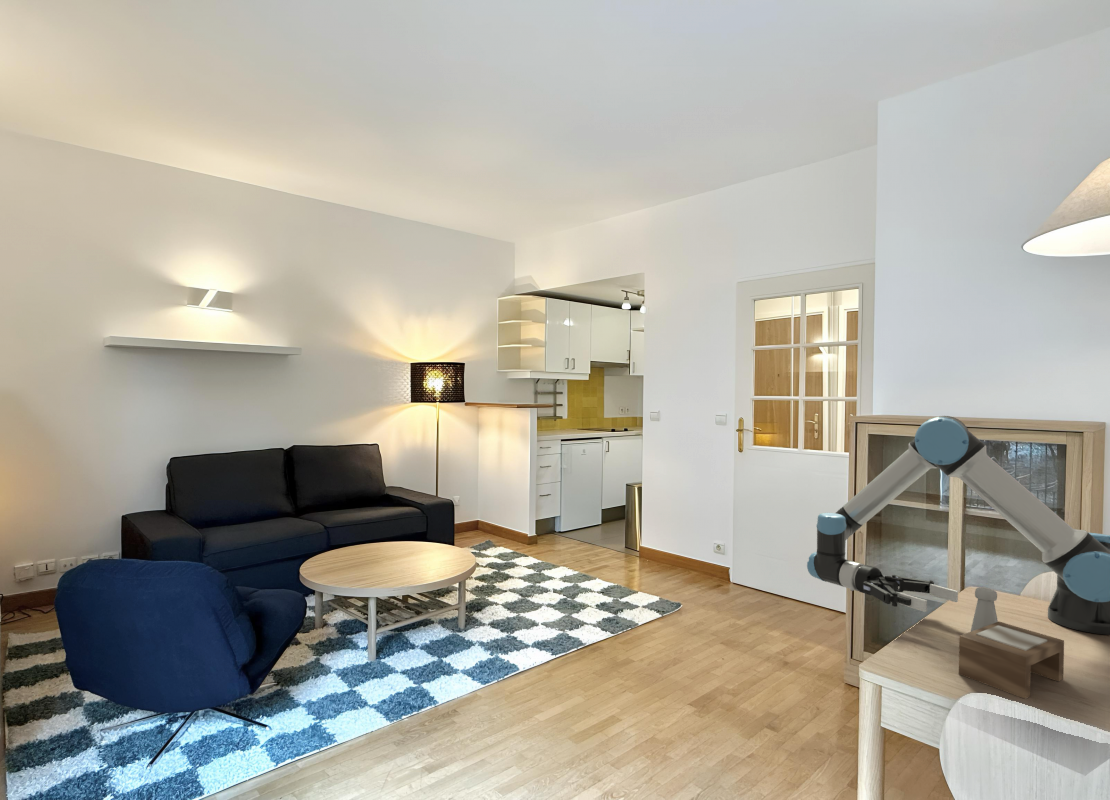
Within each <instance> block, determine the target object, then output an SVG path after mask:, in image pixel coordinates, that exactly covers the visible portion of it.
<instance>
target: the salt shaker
mask: <svg viewBox="0 0 1110 800" xmlns="http://www.w3.org/2000/svg"><path fill="white" fill-rule="evenodd" d="M974 597H975V598H976V599H977V601H976V604H975V610H974V614H973V619H972V623H971V628H970V632H971V631H974V630H977V629H979V628H982V627H985V626H988V625H990V624H993V623H996V622H998V615H997V610H996V605H995V602H996V601H997V600H998V592H997V591H996V590H995V589H992V588H989V587H985V586H984V587H983V586H982V587H981V586H980V587H976V588H975V589H974Z"/></svg>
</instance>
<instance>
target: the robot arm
mask: <svg viewBox="0 0 1110 800" xmlns="http://www.w3.org/2000/svg"><path fill="white" fill-rule="evenodd" d="M931 469H939V470H940V471H941V472H942V473H943V474H945V475H946V476H947V477H952V478H959V479H960V480H961V481H962V482H963V483H964V484H965V485H967V487H968V488H970V489H971V490H972V491H973V492H974V493H975V494H976V495H978V496H979V497H980V498H981V499H982V500H983V501H984V502H985V503H987V504H988V505H989V506H990V507H991V508H992V509H993V510H994V511H995V512H997V513H998V514H999V515H1000V516H1001V517H1002V518H1003V519H1005V520H1006V521H1007V522H1008V523H1009V524H1010V525H1011V526H1012V527H1013V528H1015V529H1016V530H1017V531H1018V533H1020V534H1022V536H1024V537H1025V538H1026V539H1027V540H1028V541H1029V542H1030V543H1031V544H1033V545H1034V546H1035V547H1036V548H1037V549H1038V550H1039V551H1040V552H1041V560H1042V562H1043V563H1044V564H1045V565H1046V566H1047V567H1048V568H1049V569H1051V570H1052V571H1053V572H1054V573H1055V574H1056V589H1055V592H1054V594H1053V596H1052V598H1051V600H1050V602H1049V605H1048V607H1047V618H1048V619H1049V620H1050V621H1051V622H1053V623H1056V624H1058V625H1061V626H1063V627H1066V628H1069V629H1073V630H1077V631H1080V632H1084V633H1090V634H1095V635H1096V634H1097V635H1106V636H1107V635H1110V534H1103V533H1096V532H1095V533H1094V532H1089V531H1087V530H1084V529H1076V528H1073V527H1072V526H1071V525H1069V524H1068V523H1067V522H1066V521H1065V520H1064V519H1062V518H1061V517H1060V516H1059V515H1058V514H1057V513H1055V511H1053V510H1052V509H1050V508H1049V507H1048V506H1047V505H1046V504H1045V503H1044V502H1043V501H1041V499H1039V498H1038V497H1037V496H1035V495H1034V494H1033V493H1032V492H1031V491H1029V489H1027V488H1026V487H1025V486H1024V485H1023V484H1021V482H1019V481H1018V480H1017V479H1016V478H1015V477H1014V476H1012V475H1011V474H1010V473H1009V472H1008V471H1006V470H1005V469H1004V468H1003V467H1002V466H1000V465H999V464H998V463H997V462H996V461H995V460H994V459H992V458H991V457H990V456H989V455H988V453H987V445H986V444H985V443H983V442H982V440H980V439H979V438H977V437H976V435H974V434H973V433H972V432H971V431H969V429H968V427H967V426H966V424H964V422H962V421H961V420H960V419H958V418H956V417H954V416H949V415H939V416H935V417H932V418H929V419H927V420H926V421H924V422H922V424H921V425H920V426H918V428H917V430H916V432H915V435H914V438H913V439H912V440H911V441H909V443H908V449H907V450H905V451H904V452H903V453H901V455H899V457H897V458H896V459H895V460H894V461H893V462H892V463H891V464H889V465H887V467H886V468H885V469H884V470H883V471H882V472H880V473H879V474H878V475H877V476H876V477H874V478H873V480H871V481H870V482H869V483H868V484H866V485H865V486H864V487H863V488H862V489H861V490H860V491H859V492H858V493H857V494H855V495H854V496H853V497H851V498H850V499H849V500H848V501H847V502H846V503H845V504H844V505H843V506H842V507H841V508H839V509H838V510H837V511H836V512H823V513H819V514H818V515H817V521H816V522H817V524H816V551H814V552H813V553H811V554H810V555H809V557H808V561H807V562H806V568H807V571H808V574H809V575H810V576H812V577H813V578H815V579H818V580H820V581H823V582H826V583H830V584H833V585H837V586H840V587H843V588H846V589H849V590H850V591H851V592H854V591H856V592H859V593H862V594H865V595H869V596H873V597H874V598H876V599H878V600H879V601H881V602H883V603H884V604H887V605H890V604H891V606H892V607H898V605H901V606H905V607H908V608H911V609H913V610H918V611H921V612H923V613H926V612H928V600H927V599H924V598H920V597H918V596H917V597H916V596H913V595H910V594H907V593H903V592H913V593H922V594H924V593H925V594H929V596H933V597H936V598H940V599H943V600H945V601H950V602H954V603H958V602H959V591H958V590H955V589H951V588H948V587H944V586H941V585H937V584H935V582H934V580H932V579H929V580H925V579H919V578H913V577H906V576H900V575H896V574H892V575H891V576H890V575H885V576H884V575H883V574H882V571H881V570H880V568H878V567H875V566H872V565H867V564H864V563H861V562H858V561H857V562H856V561H853V560H849V559H846V541H847V540H848V539H849V538H850V537H851V536H852V535H854V533H856V532H857V531H858V530H859V529H860V528H861V527H863V525H865V524H866V523H867V522H868V521H869V520H871V519H872V518H874V517H875V516H876V515H877V514H878V513H879V512H880V511H882V510H883V509H884V508H885V507H886V506H888V505H889V504H891V502H892V501H893V500H895V499H896V498H897V497H898V496H900V494H902V493H904V491H905V490H907V489H908V488H909V487H910V486H911V485H912V484H914V483H915V482H917V480H918V479H919V478H922V476H924V475H925V474H926V473H927V472H928V471H929V470H931Z"/></svg>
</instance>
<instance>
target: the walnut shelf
mask: <svg viewBox="0 0 1110 800" xmlns="http://www.w3.org/2000/svg"><path fill="white" fill-rule="evenodd" d="M1064 657H1065V640H1063V639H1061V638H1058V637H1053V636H1050V635H1047V634H1043V633H1039V632H1036V631H1033V630H1029V629H1026V628H1024V627H1023V628H1022V627H1020V626H1016V625H1013V624H1009V623H1006V622H1001V621H998V622H996V623H993V624H990V625H988V626H985V627H982V628H979V629H977V630H974V631H971V630H970V631H969V632H966V633H964V634H960V635H959V639H958V675H960V676H963V677H966V678H969V679H971V680H973V681H976V682H979V683H981V684H984V685H988V686H990V687H993V688H995V689H998V690H1000V691H1004V692H1006V693H1009V694H1010V695H1014V696H1016V697H1020V698H1022V699H1027V698H1030V697H1031V673H1033V674H1036V675H1038V676H1042V677H1044V678H1048V679H1051V680H1053V681H1056V682H1061V681H1063V680H1064V672H1065V671H1064V666H1065V665H1064V664H1065V663H1064V660H1065V658H1064Z"/></svg>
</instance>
